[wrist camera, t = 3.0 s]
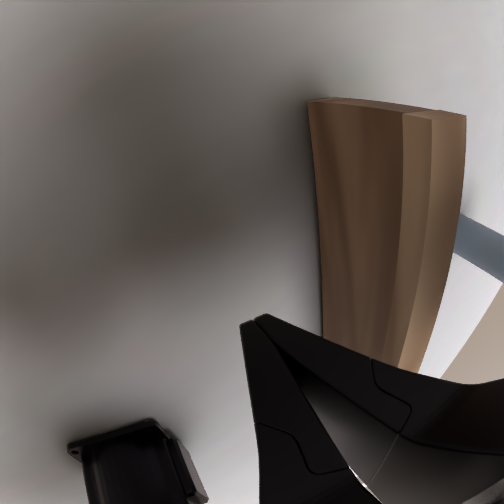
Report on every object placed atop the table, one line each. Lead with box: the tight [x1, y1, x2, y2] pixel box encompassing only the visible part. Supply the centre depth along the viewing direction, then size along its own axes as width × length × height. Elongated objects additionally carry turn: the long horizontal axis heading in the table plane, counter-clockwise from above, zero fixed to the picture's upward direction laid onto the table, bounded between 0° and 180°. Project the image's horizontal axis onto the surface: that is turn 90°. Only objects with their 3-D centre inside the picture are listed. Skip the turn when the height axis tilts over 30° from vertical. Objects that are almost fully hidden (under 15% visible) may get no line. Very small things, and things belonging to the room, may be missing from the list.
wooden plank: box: [307, 97, 466, 373], centre depth 14 cm, size 2×18×6 cm, turn 11°
